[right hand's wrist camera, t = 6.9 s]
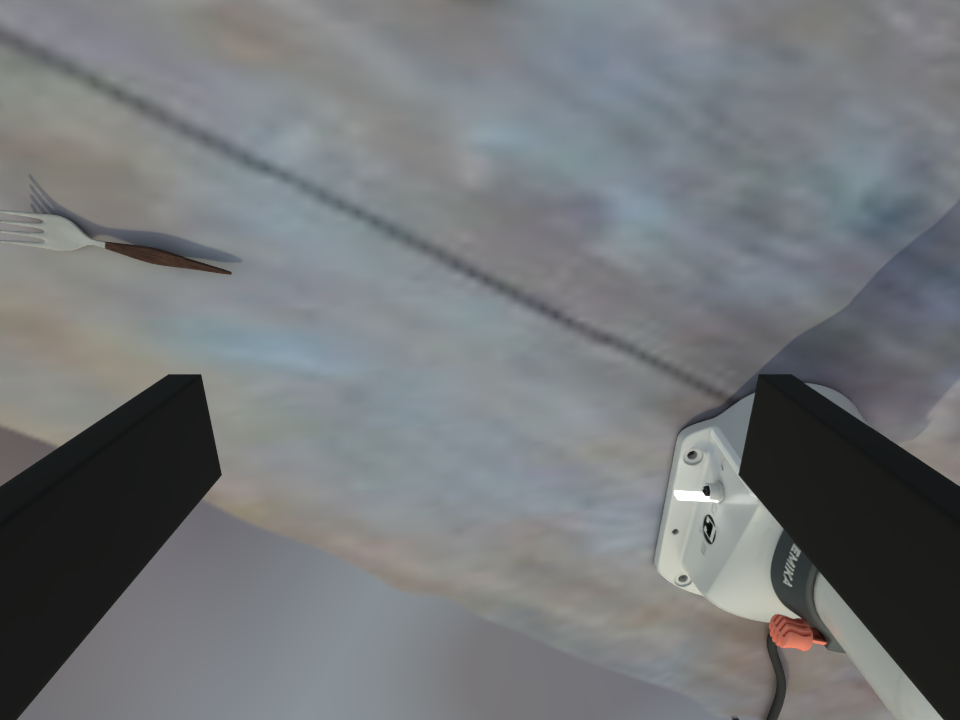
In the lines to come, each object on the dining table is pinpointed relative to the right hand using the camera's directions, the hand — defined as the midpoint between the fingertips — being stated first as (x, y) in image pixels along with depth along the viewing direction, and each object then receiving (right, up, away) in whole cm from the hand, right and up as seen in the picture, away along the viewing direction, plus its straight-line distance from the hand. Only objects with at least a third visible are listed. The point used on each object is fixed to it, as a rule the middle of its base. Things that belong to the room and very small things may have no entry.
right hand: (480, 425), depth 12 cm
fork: (-26, +10, +26) cm, 38 cm away
